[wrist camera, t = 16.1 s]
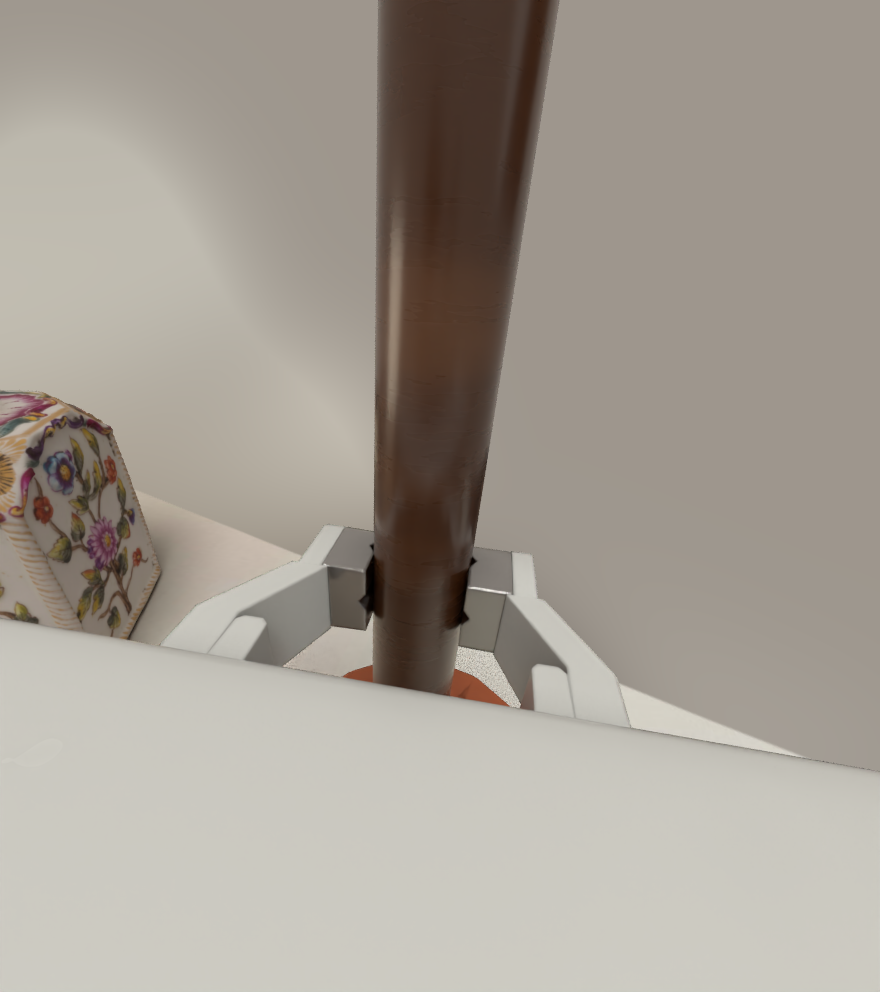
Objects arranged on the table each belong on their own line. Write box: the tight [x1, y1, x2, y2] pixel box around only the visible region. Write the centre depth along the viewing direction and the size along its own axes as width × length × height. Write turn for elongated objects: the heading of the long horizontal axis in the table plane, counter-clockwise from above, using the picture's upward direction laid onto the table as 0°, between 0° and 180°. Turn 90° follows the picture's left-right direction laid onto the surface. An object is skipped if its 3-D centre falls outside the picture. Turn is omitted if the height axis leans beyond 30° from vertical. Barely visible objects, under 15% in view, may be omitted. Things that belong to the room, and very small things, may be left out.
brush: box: [373, 0, 559, 696], centre depth 10 cm, size 3×3×22 cm
